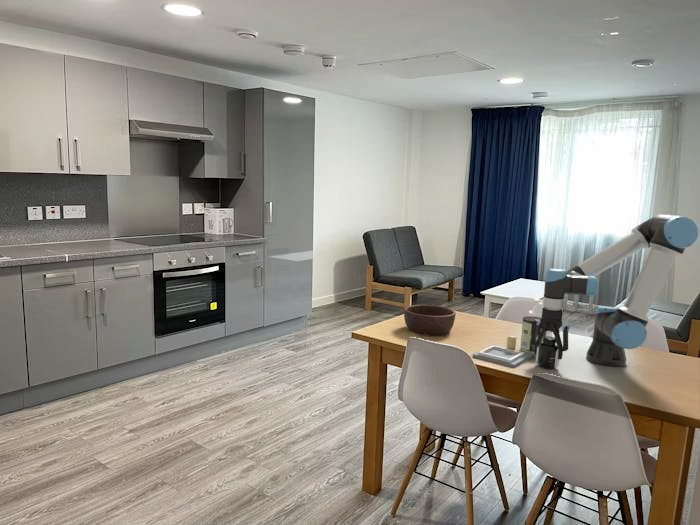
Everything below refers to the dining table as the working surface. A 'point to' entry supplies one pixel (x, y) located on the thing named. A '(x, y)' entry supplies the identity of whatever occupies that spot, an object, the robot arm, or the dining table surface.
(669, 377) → the dining table surface
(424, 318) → the wooden bowl
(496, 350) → the board
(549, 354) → the supplement bottle
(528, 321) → the coffee can
